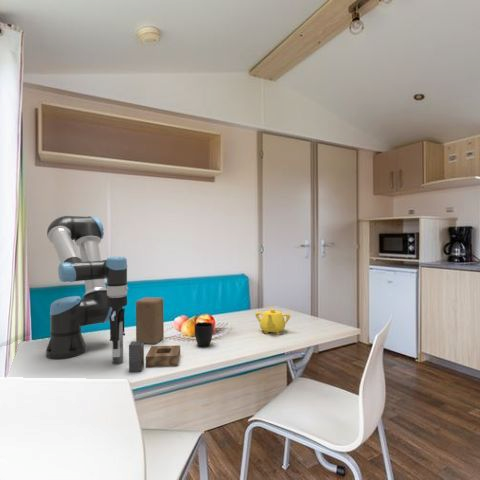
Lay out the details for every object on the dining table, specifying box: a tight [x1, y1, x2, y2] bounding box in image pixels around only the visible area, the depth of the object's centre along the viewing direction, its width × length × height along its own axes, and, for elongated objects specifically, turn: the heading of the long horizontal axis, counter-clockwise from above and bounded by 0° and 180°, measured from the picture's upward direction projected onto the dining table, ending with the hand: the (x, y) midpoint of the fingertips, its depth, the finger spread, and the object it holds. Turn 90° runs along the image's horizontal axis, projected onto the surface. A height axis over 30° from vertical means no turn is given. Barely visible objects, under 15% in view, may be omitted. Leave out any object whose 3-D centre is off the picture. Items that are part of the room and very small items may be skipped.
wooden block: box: [135, 296, 165, 345], centre depth 160 cm, size 10×10×20 cm
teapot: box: [255, 308, 291, 336], centre depth 174 cm, size 14×14×12 cm
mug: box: [194, 321, 214, 348], centre depth 155 cm, size 8×12×10 cm
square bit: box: [128, 340, 145, 373], centre depth 126 cm, size 4×4×10 cm
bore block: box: [145, 344, 181, 368], centre depth 135 cm, size 12×12×4 cm
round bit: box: [111, 321, 124, 365], centre depth 133 cm, size 4×4×16 cm
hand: (117, 354), depth 133 cm, fingers closed on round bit, 4 cm apart
